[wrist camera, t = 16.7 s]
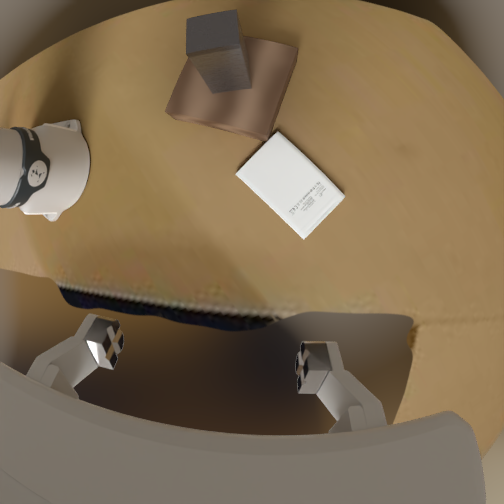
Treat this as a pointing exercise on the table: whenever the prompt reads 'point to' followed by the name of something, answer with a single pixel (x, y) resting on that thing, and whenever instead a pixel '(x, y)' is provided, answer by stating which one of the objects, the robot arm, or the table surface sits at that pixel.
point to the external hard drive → (290, 184)
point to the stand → (238, 93)
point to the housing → (219, 51)
